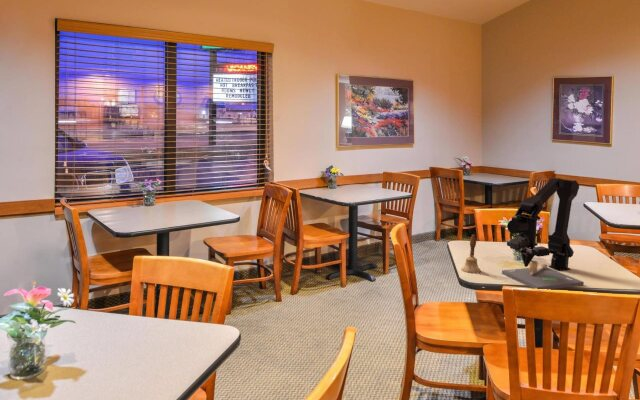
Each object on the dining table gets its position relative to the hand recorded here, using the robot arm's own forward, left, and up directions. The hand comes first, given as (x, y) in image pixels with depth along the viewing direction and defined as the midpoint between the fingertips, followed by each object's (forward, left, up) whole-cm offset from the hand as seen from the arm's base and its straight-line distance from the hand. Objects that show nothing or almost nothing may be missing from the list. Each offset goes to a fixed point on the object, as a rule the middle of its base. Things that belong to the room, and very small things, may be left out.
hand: (526, 266), depth 215 cm
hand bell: (+18, -13, -4) cm, 23 cm away
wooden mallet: (-6, 0, -2) cm, 6 cm away
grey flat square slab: (-3, +6, -4) cm, 8 cm away
